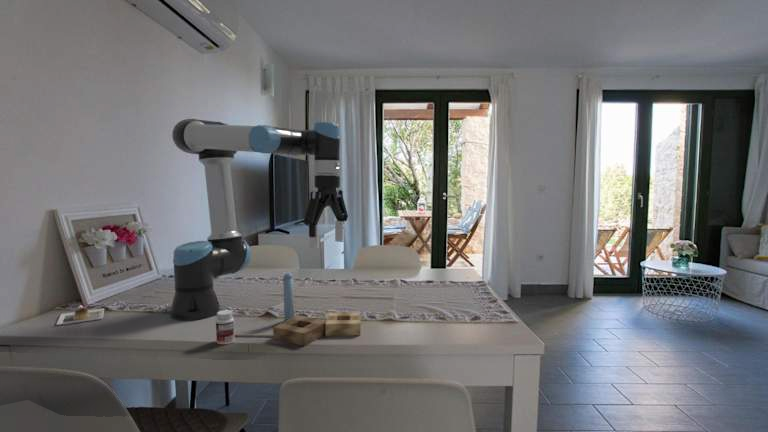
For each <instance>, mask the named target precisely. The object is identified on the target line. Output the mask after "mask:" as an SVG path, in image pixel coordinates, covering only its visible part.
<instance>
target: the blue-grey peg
mask: <svg viewBox="0 0 768 432" xmlns="http://www.w3.org/2000/svg"><path fill="white" fill-rule="evenodd" d="M294 300H295V299H294V276H293V274H292V273H290V272H288V273H285V274H284V276H283V317H284V318H283V320H284V321H283V322H285V321H287V320H289V319H291V318H294V317H295V305H294V304H295V302H294Z"/></svg>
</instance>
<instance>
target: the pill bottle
mask: <svg viewBox="0 0 768 432" xmlns="http://www.w3.org/2000/svg"><path fill="white" fill-rule="evenodd" d="M215 333H216V335H215V336H216V343H217V344H219V345H228V344H229V345H230V344H232V343H234V342H235V337H236V336H235V334H236V333H235V318H234V316H233V310H230V309H224V310H220V311H219V312H217V314H216V320H215Z"/></svg>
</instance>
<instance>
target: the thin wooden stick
mask: <svg viewBox="0 0 768 432" xmlns="http://www.w3.org/2000/svg"><path fill="white" fill-rule="evenodd" d="M235 337H239V338H241V337H242V338H243V337H246V338H248V337H249V338H250V337H251V338H255V337H256V338H261V337H263V338H273V333H235Z"/></svg>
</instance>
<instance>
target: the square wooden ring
mask: <svg viewBox="0 0 768 432" xmlns="http://www.w3.org/2000/svg"><path fill="white" fill-rule="evenodd" d="M325 323H326V320H323V319H319V318H313V317H309V316H308V317H307V316H302V315H296V316H294V318H291V319H289V320H287V321H285V322H284V321H283V322H280V323H279V324H277V325H274V326H272V331H273V332H272V334H273V337H272V338H273V340H276V339H277V340H278V341H282V342H285V343H289V342H290V343H291V344H294V343H295V344H294V345H298V346H299V345H300V346H304V347H305V346H307V345H310V344H311V343H313V342H314V340H315V341H317V340H318V339H320V338H323V336H326V334H325ZM312 341H313V342H312Z"/></svg>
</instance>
